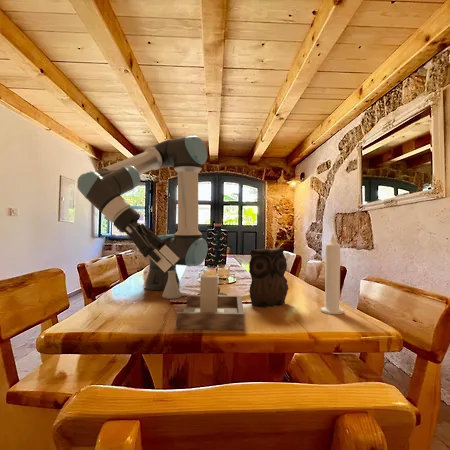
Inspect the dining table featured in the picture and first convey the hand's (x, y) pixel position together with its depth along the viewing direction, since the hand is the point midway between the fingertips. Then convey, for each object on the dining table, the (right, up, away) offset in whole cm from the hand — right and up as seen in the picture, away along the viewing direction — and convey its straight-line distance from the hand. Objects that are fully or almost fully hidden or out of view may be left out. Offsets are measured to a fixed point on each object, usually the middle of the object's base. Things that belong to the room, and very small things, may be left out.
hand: (172, 265), depth 94 cm
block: (+11, -14, 0) cm, 18 cm away
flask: (-5, -16, +26) cm, 31 cm away
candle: (+50, -16, +8) cm, 54 cm away
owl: (+30, -16, +19) cm, 40 cm away
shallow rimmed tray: (+12, -16, 0) cm, 20 cm away
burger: (+11, -16, +24) cm, 31 cm away
